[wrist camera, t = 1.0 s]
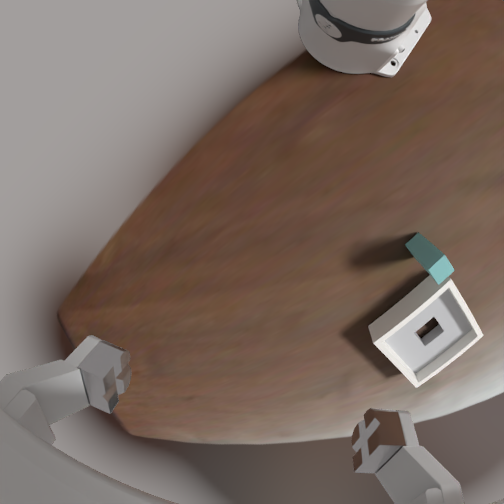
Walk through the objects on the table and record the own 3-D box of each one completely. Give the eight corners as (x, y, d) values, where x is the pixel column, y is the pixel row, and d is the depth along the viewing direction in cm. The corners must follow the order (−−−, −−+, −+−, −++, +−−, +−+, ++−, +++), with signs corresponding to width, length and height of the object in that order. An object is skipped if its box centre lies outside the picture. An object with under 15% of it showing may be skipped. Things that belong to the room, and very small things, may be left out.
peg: (418, 232, 42) (444, 254, 33) (427, 245, 42) (454, 270, 33) (404, 244, 43) (428, 270, 34) (414, 257, 43) (438, 285, 34)
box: (438, 266, 43) (450, 279, 38) (472, 321, 45) (483, 335, 41) (367, 326, 49) (373, 343, 44) (410, 371, 51) (416, 387, 46)
